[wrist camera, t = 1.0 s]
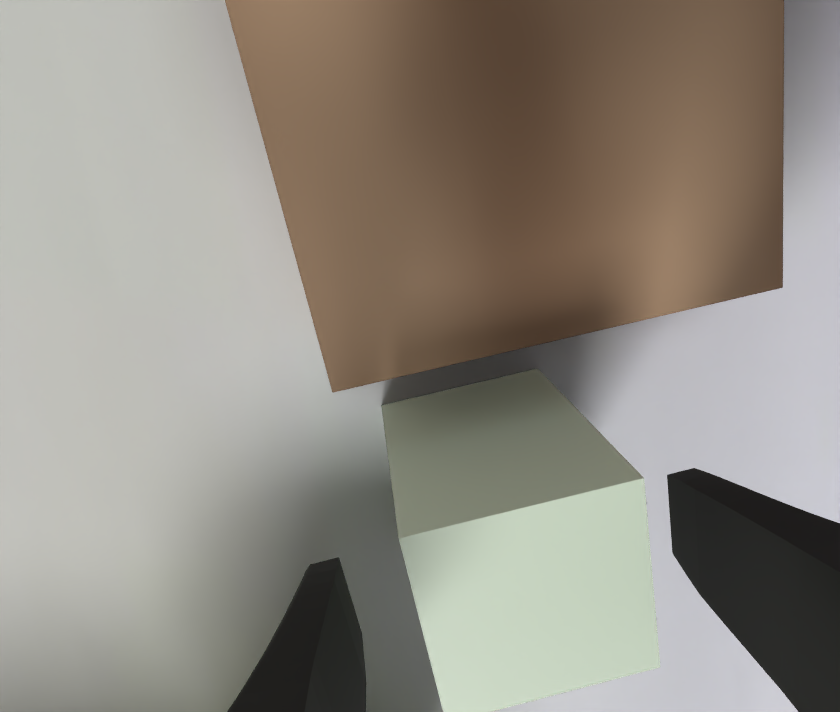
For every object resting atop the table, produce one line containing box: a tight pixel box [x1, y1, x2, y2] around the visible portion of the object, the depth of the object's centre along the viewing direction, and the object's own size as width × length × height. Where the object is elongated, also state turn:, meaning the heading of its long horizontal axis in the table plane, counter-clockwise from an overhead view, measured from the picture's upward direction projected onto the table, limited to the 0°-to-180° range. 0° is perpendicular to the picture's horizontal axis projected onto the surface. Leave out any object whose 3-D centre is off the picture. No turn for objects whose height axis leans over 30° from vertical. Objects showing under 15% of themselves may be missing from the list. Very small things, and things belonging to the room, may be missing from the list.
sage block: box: [381, 369, 660, 712], centre depth 13 cm, size 4×4×6 cm
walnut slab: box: [225, 0, 784, 392], centre depth 12 cm, size 10×10×3 cm
